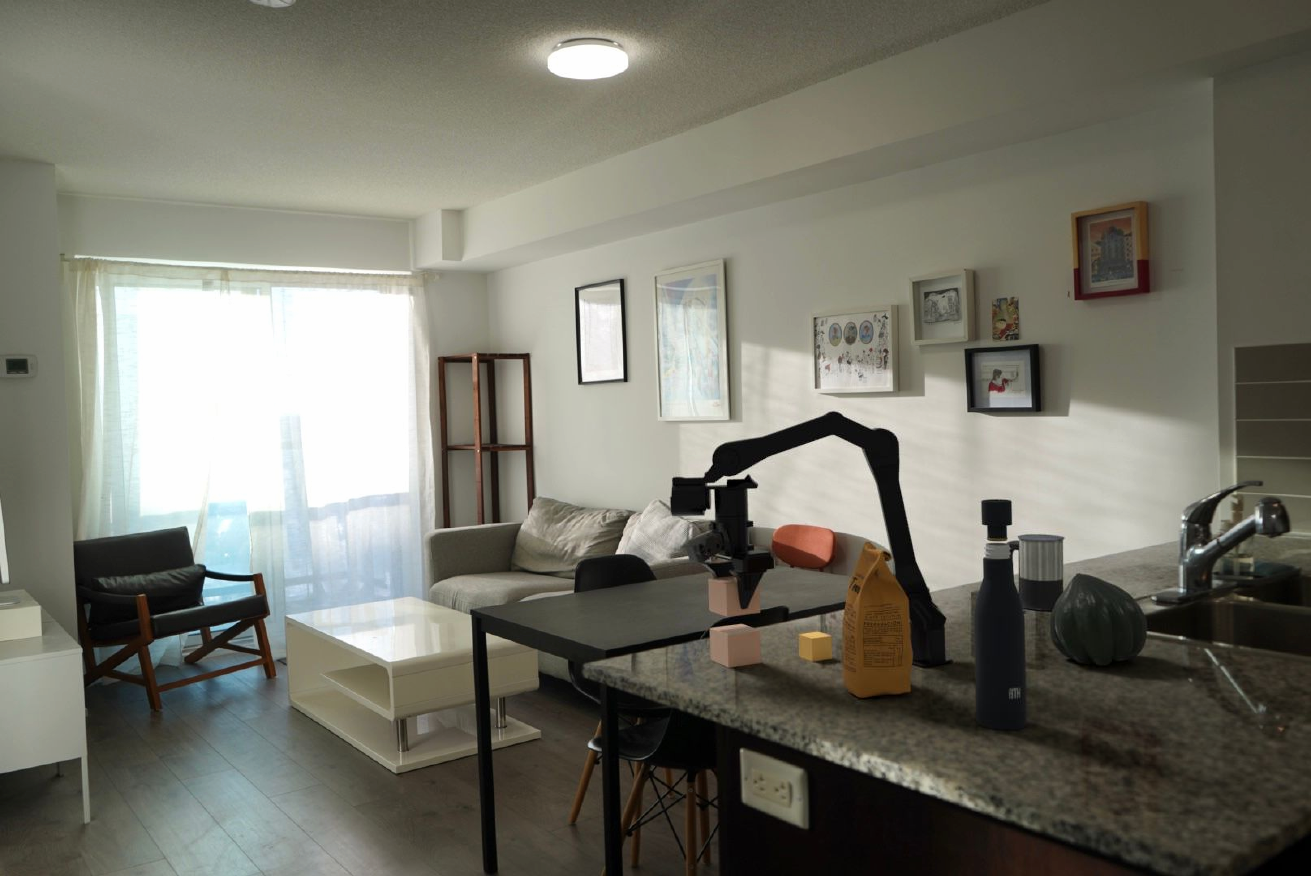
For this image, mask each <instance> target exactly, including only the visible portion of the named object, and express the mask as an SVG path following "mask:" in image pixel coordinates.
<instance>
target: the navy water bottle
mask: <svg viewBox="0 0 1311 876" xmlns="http://www.w3.org/2000/svg"><path fill="white" fill-rule="evenodd" d="M1012 503H1013V501H1012V500H1011V499H1004V498H1002V499H999V498H994V499H993V498H991V499H988V498H987V499H983V500H980V504H981V505H980V508H981V509H980V510H981V525H982V526H986V535H987V537H986V540H987V541H989V542H987V543H985V546H984V550H985V551H984V554H985V556H984V557H983V558H982V569H983V570H982V571H983V572H982V573H983V574H982V575H983V576H982V581H981V584H980V587H979V590H978V593H977V597H976V601H975V606H974V613H973V614H974V615H973V627H974V629H973V630H974V668H975V669H974V670H975V671H974V673H975V711H976V712H975V713H976V715H975V716H976V719H975V720H976V723H977V724H978V725H979V726H982V727H984V728H986V727H987V729H991V730H996V729H997V731H1016V730H1021V729H1023V728H1025V727H1026V726H1027V725H1028V717H1027V716H1028V715H1027V714H1028V713H1027V709H1028V707H1027V674H1026V673H1027V672H1026V670H1027V669H1026V666H1027V665H1026V632H1025V631H1026V629H1025V628H1026V624H1025V623H1026V622H1025V615H1024V608H1022V603H1021V599H1020V596H1019V590H1018V589H1017V586H1016V583H1015V579H1014V580H1013V571H1014V559H1013V560H1012V558H1011V557H1010V554H1011V553H1010V552H1009V550H1010V549H1011V548H1010V547H1009V544H1007V542H1008V527H1009V526H1012V525H1013V507H1012V506H1013V505H1012ZM1006 541H1007V542H1006ZM1005 542H1006V543H1005Z"/></svg>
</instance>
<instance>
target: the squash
mask: <svg viewBox="0 0 1311 876" xmlns="http://www.w3.org/2000/svg"><path fill="white" fill-rule="evenodd" d="M1063 590H1064V592H1063V593H1062V594H1061V596H1060V597H1059V599H1058V600H1057V602H1056V604H1055V606H1054V608H1053V610H1052V611H1051V613H1050V616H1049V620H1048V631H1049V633H1048V634H1049V635H1050V636H1049V637H1050V639H1051V642H1052V644H1053V645H1054V647H1055V649H1057V651H1059V653H1060V654H1061V655H1063V656H1064V657H1066V658H1068V659H1071V660H1074V661H1076V662H1077V663H1079V664H1082V665H1083V664H1085V665H1089V664H1093V663H1094V665H1097V666H1099V667H1101V666H1102V667H1103V666H1104V667H1105V666H1108V665H1109V664H1110V663H1111V662H1112V661H1115V662H1116V661H1117V662H1121V661H1127V660H1131V659H1133V658H1134V657H1136V656H1138V655H1139V654H1140V653H1141V652H1142V650H1143V649H1144V647H1145V644H1146V641H1147V637H1148V636H1147V635H1148V633H1147V632H1148V625H1147V624H1148V622H1147V618H1146V615H1145V613H1144V612H1143V609H1142V608H1141V606H1140V604H1139V603H1138V602H1137V600H1136V599H1135V598H1134V597H1133V596H1132V595H1131V594H1130V593H1129V592H1128V591H1126V590H1124V589H1123V588H1121V587H1120V586H1117V585H1116V584H1113V583H1111V582H1108V581H1106V580H1104V579H1102V578H1099V577H1096V576H1093V575H1090V574H1084V573H1080V572H1077V573H1075V576H1073V577H1072V578H1071V580H1070V581H1069V583H1068V585H1067V586H1066V588H1065V589H1063Z"/></svg>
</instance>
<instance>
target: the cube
mask: <svg viewBox="0 0 1311 876" xmlns="http://www.w3.org/2000/svg"><path fill="white" fill-rule="evenodd" d="M832 643H833V642H832V635H830V634H828V633H824V632H820V631H812V632H806V633H799V634H798V647H799V648H798V650H799V651H798V653H799V658H802V659H804V660H807V661H810V662H819V661H825V660H832V659H833V649H832V645H833V644H832Z"/></svg>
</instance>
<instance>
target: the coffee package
mask: <svg viewBox="0 0 1311 876" xmlns="http://www.w3.org/2000/svg"><path fill="white" fill-rule="evenodd" d="M891 560H892V556H891V552H889V551H887V550H884V549H877V547H876V546H875V545H874V544H873V543H872V542H871V541H865V542H864V544H863V547H862V549H861V553H860V555H859V558H858V559H857V562H856V565H855V568H854V570H853V572H852V575H851V577H850V581H849V584H848V588H847V591H846V592H847V593H846V599H845V607H844V611H843V617H842V626H841V665H842V667H841V668H842V680H843V683H844V685H845V687H846V689H847V691H848V692H849V693H850V694H853V695H854V696H856V697H857V698H863V699H865V698H869V697H878V696H883V695H900V694H904V693H910V692H912V691H911V690H912V687H911V680H912V679H911V678H912V677H911V674H912V673H911V672H912V667H913V663H912V660H913V652H912V647H911V640H910V618H909V600H908V598H907V596H906V594H905V592H904V590H903V589H902V587H901V586H900V584H899V583H898V581H897V580H896V578H895V577H894V575H893V572H892V570H891V569H890V568H889V566H888V563H887V562H890V561H891Z"/></svg>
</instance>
